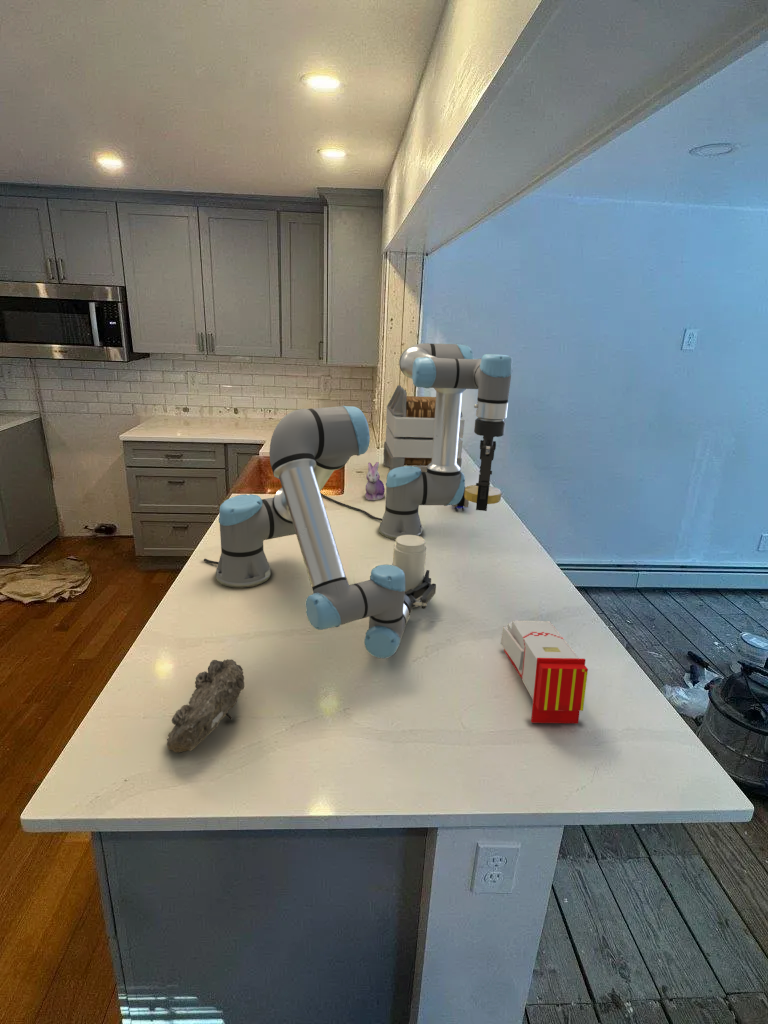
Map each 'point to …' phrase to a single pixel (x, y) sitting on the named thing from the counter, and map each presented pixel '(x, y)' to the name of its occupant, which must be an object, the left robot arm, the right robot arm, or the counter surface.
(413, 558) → the jar
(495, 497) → the lid
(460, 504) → the figurine character
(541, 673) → the toy
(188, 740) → the fossil
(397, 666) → the counter surface
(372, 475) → the figurine
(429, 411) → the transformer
